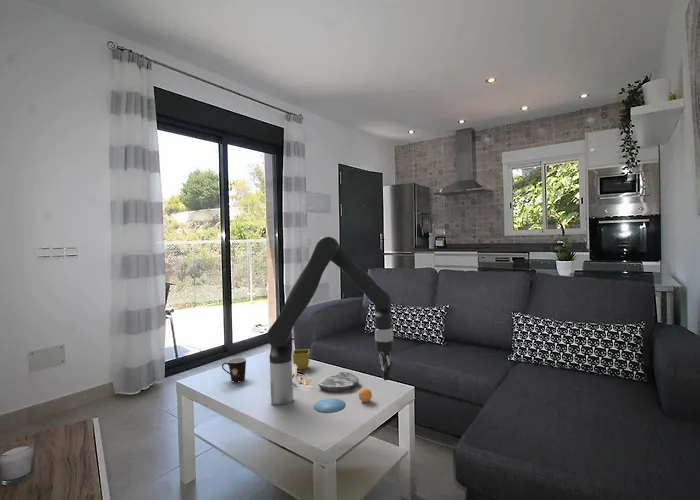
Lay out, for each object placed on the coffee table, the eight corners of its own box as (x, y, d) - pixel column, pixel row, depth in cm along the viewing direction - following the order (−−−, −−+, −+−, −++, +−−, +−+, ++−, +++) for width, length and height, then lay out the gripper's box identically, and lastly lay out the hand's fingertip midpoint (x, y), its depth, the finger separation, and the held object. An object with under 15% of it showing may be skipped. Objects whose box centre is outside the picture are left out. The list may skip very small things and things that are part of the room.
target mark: (314, 414, 148) (314, 413, 148) (312, 400, 161) (312, 400, 161) (347, 410, 150) (347, 410, 150) (342, 397, 163) (342, 397, 163)
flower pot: (294, 366, 207) (293, 349, 207) (310, 365, 208) (309, 348, 208) (293, 371, 198) (292, 354, 198) (309, 370, 199) (309, 353, 199)
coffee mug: (250, 378, 190) (249, 358, 190) (237, 384, 183) (236, 364, 183) (234, 375, 196) (234, 355, 196) (221, 380, 189) (220, 360, 189)
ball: (360, 405, 155) (359, 391, 155) (357, 399, 160) (357, 386, 160) (373, 403, 156) (372, 390, 156) (370, 398, 161) (369, 385, 161)
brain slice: (343, 397, 164) (343, 390, 164) (312, 390, 174) (312, 383, 173) (367, 382, 180) (366, 376, 180) (337, 376, 190) (337, 370, 190)
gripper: (371, 335, 165) (373, 375, 165) (379, 343, 152) (381, 386, 152) (388, 334, 166) (390, 373, 167) (397, 341, 153) (399, 384, 153)
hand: (386, 379), depth 159 cm, fingers closed
